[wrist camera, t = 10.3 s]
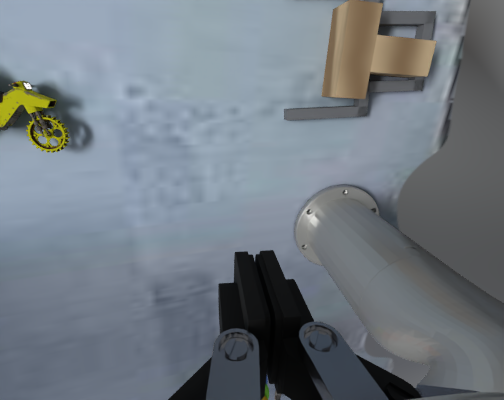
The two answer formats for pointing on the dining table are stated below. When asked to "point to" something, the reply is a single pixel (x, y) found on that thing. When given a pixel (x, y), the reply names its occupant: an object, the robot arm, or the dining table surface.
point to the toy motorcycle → (22, 97)
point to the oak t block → (368, 51)
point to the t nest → (388, 18)
